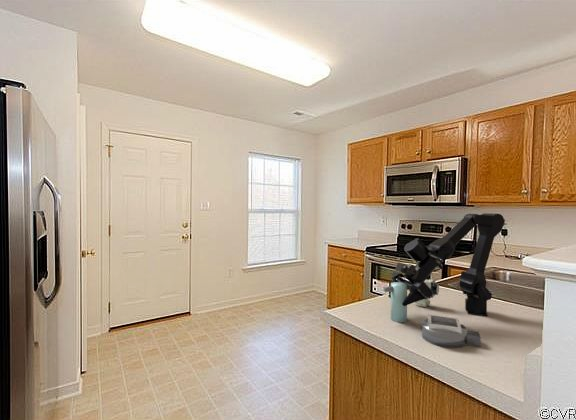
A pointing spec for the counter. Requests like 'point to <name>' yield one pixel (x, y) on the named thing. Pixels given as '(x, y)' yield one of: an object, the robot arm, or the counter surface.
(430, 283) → the pneumatic valve
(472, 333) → the grey socket base
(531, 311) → the counter surface
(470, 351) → the counter surface
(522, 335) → the counter surface
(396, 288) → the cylinder
